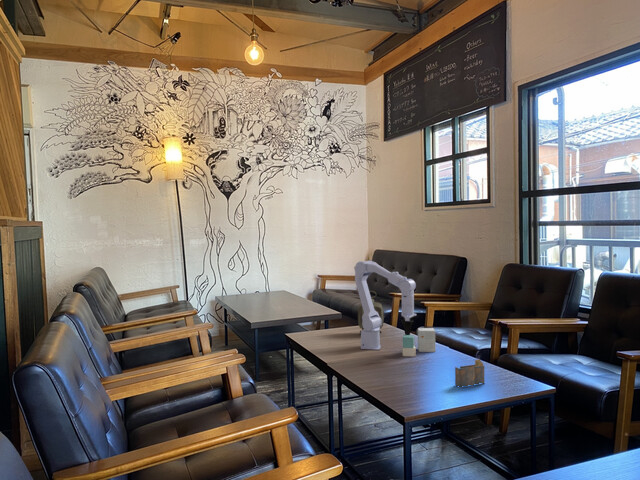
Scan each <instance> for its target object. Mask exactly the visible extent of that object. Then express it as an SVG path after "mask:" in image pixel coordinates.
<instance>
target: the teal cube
mask: <svg viewBox="0 0 640 480" xmlns="http://www.w3.org/2000/svg"><path fill="white" fill-rule="evenodd" d="M402 345H403V348H414V345H415V335H413V334H410V335H405V334H403V336H402Z"/></svg>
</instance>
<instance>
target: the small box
mask: <svg viewBox="0 0 640 480" xmlns="http://www.w3.org/2000/svg"><path fill="white" fill-rule="evenodd" d="M417 350H418V351H419V352H421V353H435V352H436V350H437V349H436V330H435V328H433V327H431V328H430V327H418V328H417Z"/></svg>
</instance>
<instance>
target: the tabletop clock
mask: <svg viewBox="0 0 640 480" xmlns="http://www.w3.org/2000/svg"><path fill="white" fill-rule="evenodd" d="M369 292H370V293H374V294H375V296H371V299H372V303H373V306H374V310H375V311H376V312H378V314H379V317H380V318H381V319H382V325H381V327H380V334H382V331H381V329H382V328H383V326H384V317H385V314H384V308H383V306H382V305H383V304H382V303H380V302H375V299H374V298H376V297H377V293H376V291H375V290H369ZM357 308H358V309H357V321H358V327H359V328H360V329H361V330H365V329H364V328H363V325H362V322H363V320H362V316H363V314H364V311H363V307H362V304H361V303H359V305H358V307H357ZM361 330H359V333H360V334H361Z"/></svg>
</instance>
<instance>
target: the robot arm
mask: <svg viewBox="0 0 640 480" xmlns="http://www.w3.org/2000/svg"><path fill="white" fill-rule="evenodd" d="M353 268H354V282H355V285H356V288H357V293H358V296H359V299H360V304H362V307H363V311H364V314H363V316H362V320H363V322H362V325H363V328H364V329H363V330H362V329H361V330H360V331H361V333H360V349H361V350H376V351H379V350H380V349H381V347H382V345H381V344H380V343H381V341H380V337H381V336H380V335H381V333H380V331H381V329H380V327H381V325H382V319H381V318H380V317H379V314H378V312H376V311H375V310H374V306H373V303H372V299H373V298H371V297H372V295H371V292H369V291H370V289H369V286H368V285H369V284H368V283H367V282H368V281H367V279H369V278H368V277H369V276H370V275H371V274H372V273H375V274H378V275H379V276H382V277H384V278H386V279H387V281H388V283H390V284H392V285H393V286H395V287H397V288H398V289H399V290H400V292H401V318H402V319H401V324H402V327H403V330H404V335H411V332H412V325H413V323H414V322H415V321H414V318H415V317H416V316H417V313H415V296H414V295H415V292H414V290H415V289H416V288H417V283H416V281H415V280H414V279H413V278H407V276H403V275H401V274H399V271H389V270H388V269H386V268H385V267H382V265H379V264H378V263H377V262H375V261H373V260H371V259H370V260H364V261H363V260H362V261H360V260H359V261H357V262H356V263H355V266H354V267H353Z"/></svg>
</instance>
